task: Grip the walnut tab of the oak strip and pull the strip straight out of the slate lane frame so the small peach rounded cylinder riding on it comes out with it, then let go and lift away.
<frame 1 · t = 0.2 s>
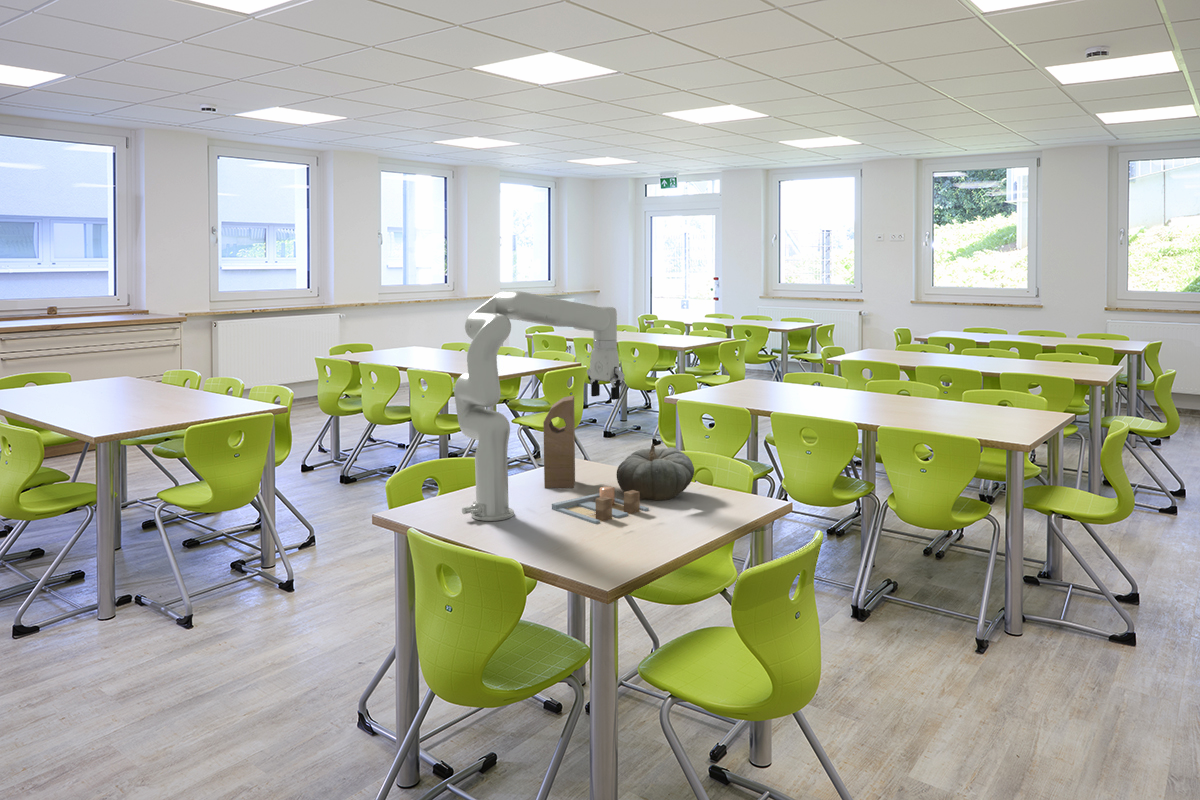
hand: (605, 397, 276), 31 cm above the table, fingers open, 9 cm apart
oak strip: (615, 499, 256), point 4 cm above the table, slide at 0.0 cm, touching peach rounded cylinder
peach rounded cylinder: (607, 504, 260), point 1 cm above the table, touching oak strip
gourd: (655, 497, 273), on the table
decorative block: (560, 485, 289), on the table
lane frame: (600, 513, 254), on the table
brown wooden block: (599, 509, 245), point 4 cm above the table, slide at 0.0 cm
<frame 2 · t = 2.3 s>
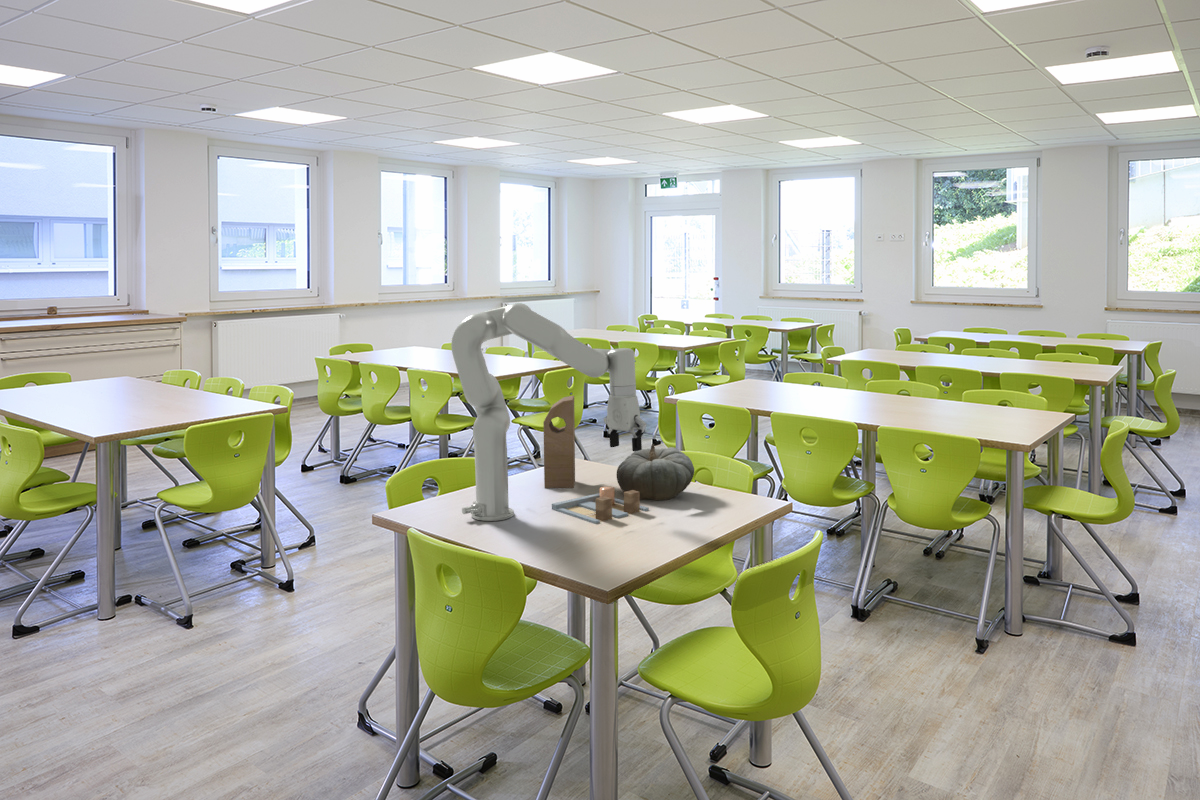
hand: (625, 448, 249), 20 cm above the table, fingers open, 9 cm apart
nothing on the table moved.
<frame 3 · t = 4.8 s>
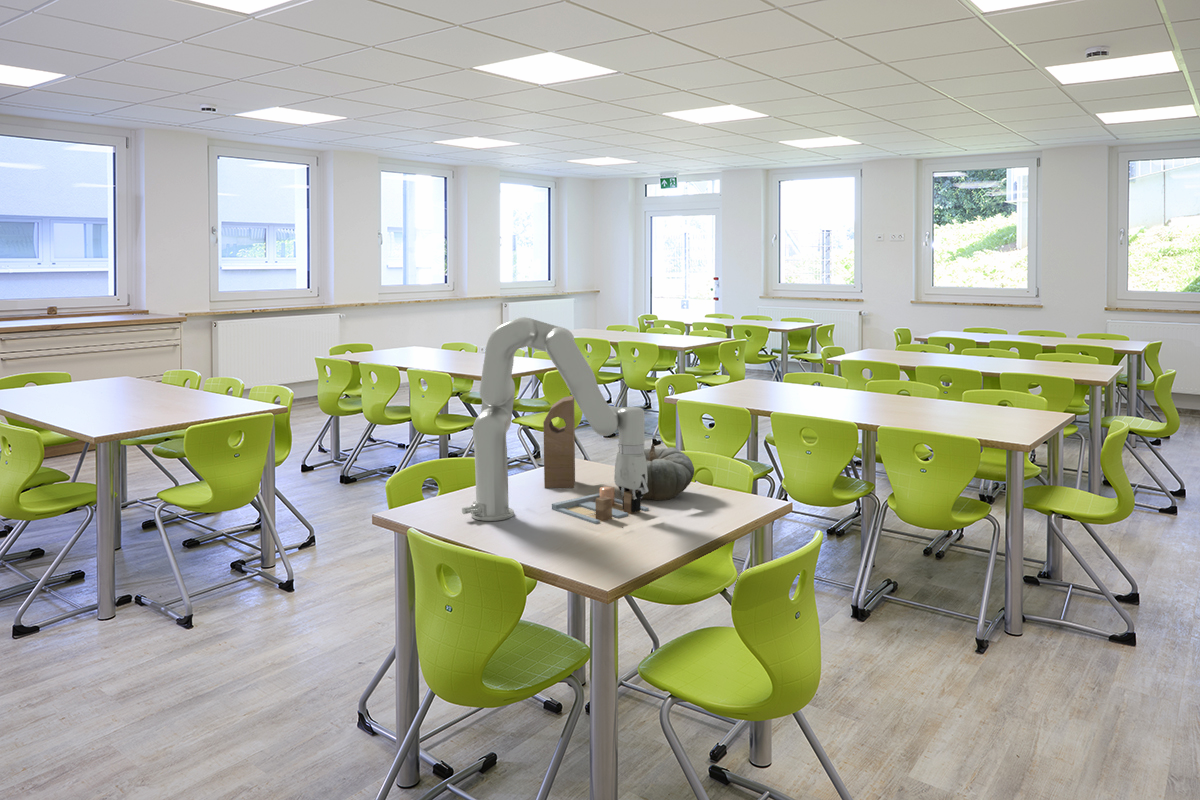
hand: (631, 509, 251), 2 cm above the table, fingers closed on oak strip, 3 cm apart
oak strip: (615, 499, 256), point 4 cm above the table, slide at 0.0 cm, touching gripper, peach rounded cylinder
everything else where it was.
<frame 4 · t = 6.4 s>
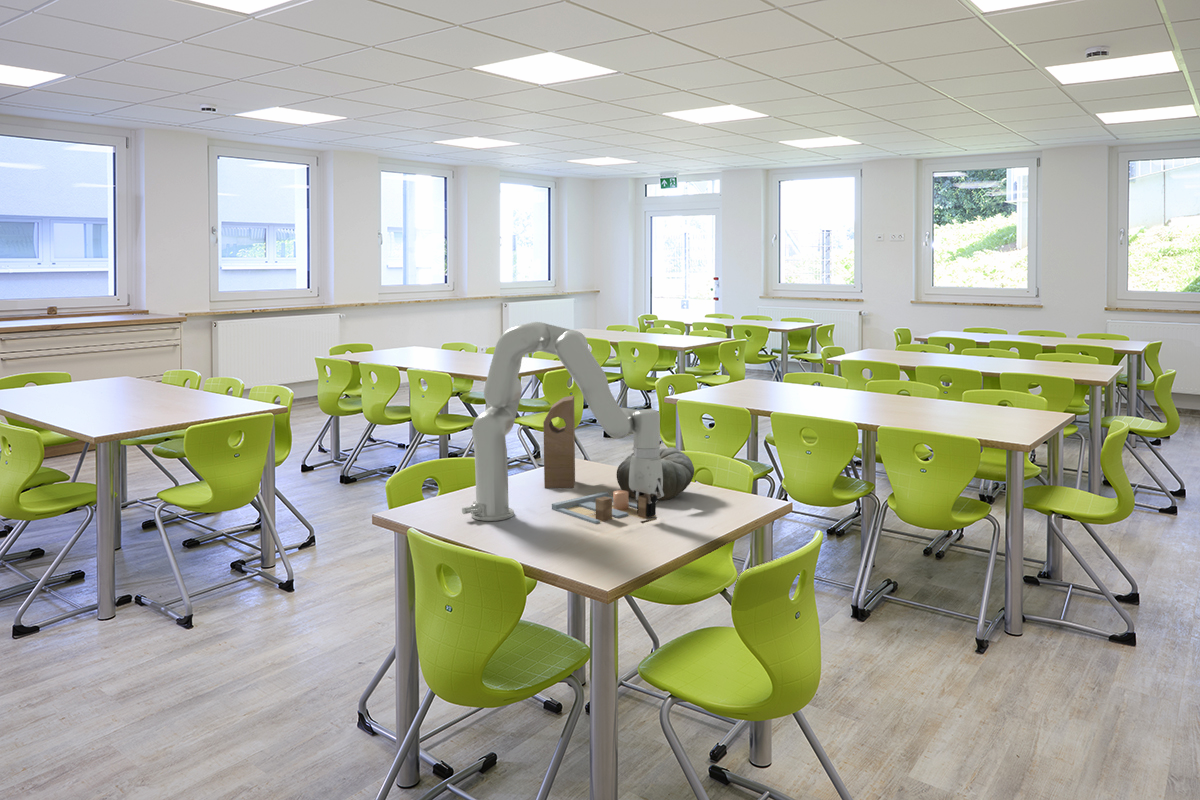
hand: (646, 514, 246), 2 cm above the table, fingers closed on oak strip, 3 cm apart
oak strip: (630, 503, 251), point 4 cm above the table, slide at 6.3 cm, touching gripper, peach rounded cylinder
peach rounded cylinder: (620, 508, 255), point 1 cm above the table, touching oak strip
everything else where it was.
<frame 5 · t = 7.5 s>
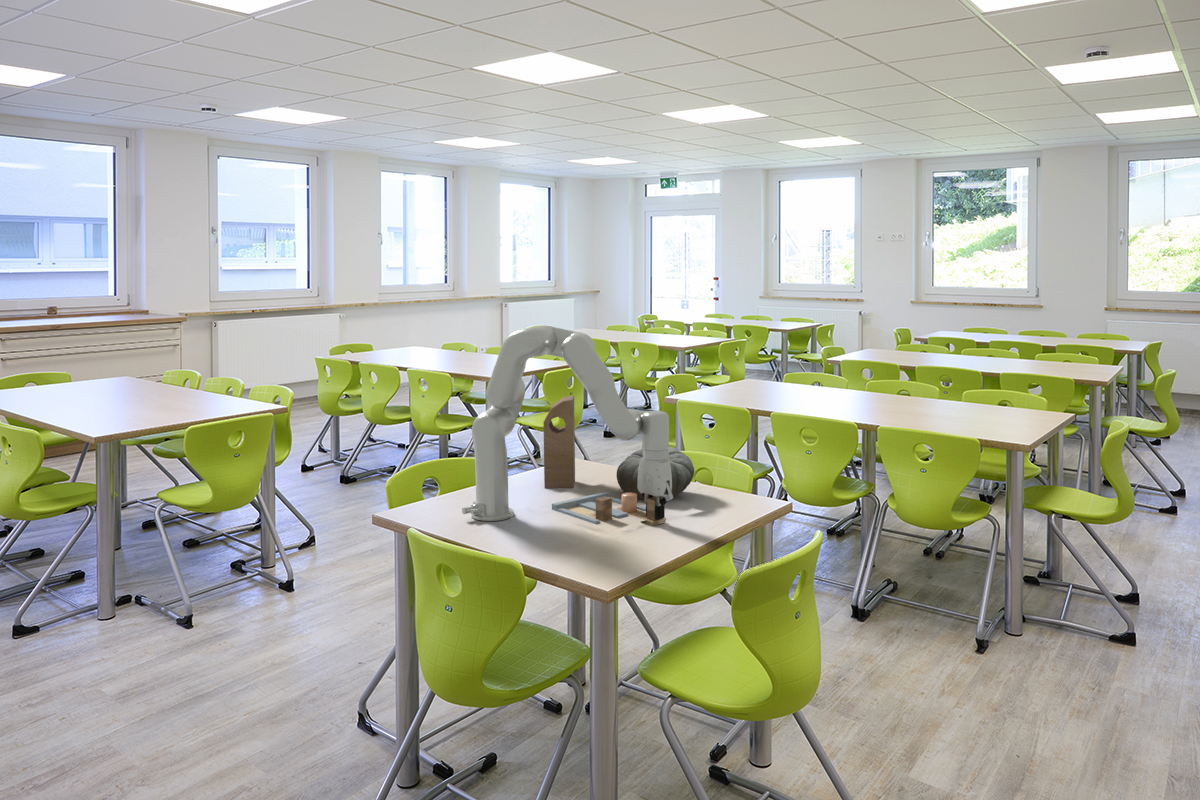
hand: (655, 516, 244), 2 cm above the table, fingers closed on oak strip, 3 cm apart
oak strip: (638, 505, 249), point 4 cm above the table, slide at 10.0 cm, touching gripper, peach rounded cylinder
peach rounded cylinder: (629, 511, 252), point 1 cm above the table, touching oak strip
everything else where it was.
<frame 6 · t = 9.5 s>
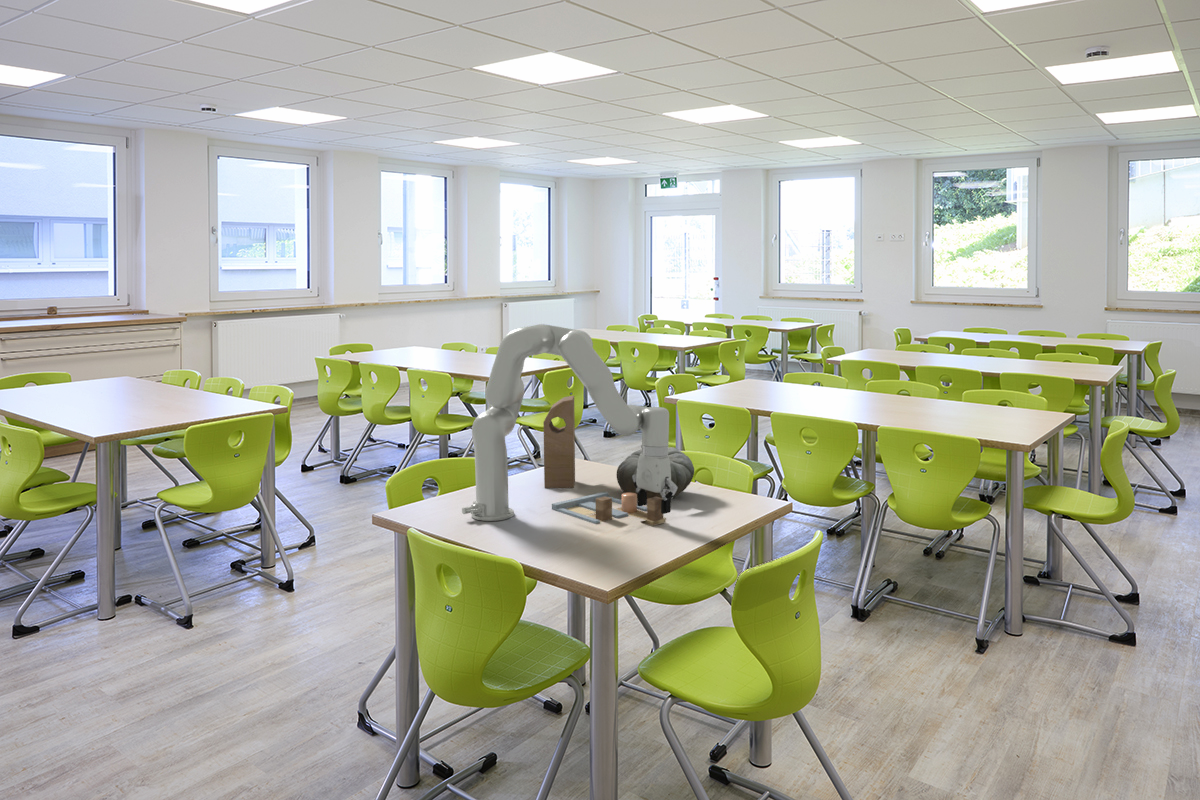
hand: (653, 509, 243), 4 cm above the table, fingers open, 9 cm apart
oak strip: (638, 505, 249), point 4 cm above the table, slide at 10.0 cm, touching peach rounded cylinder
everything else where it was.
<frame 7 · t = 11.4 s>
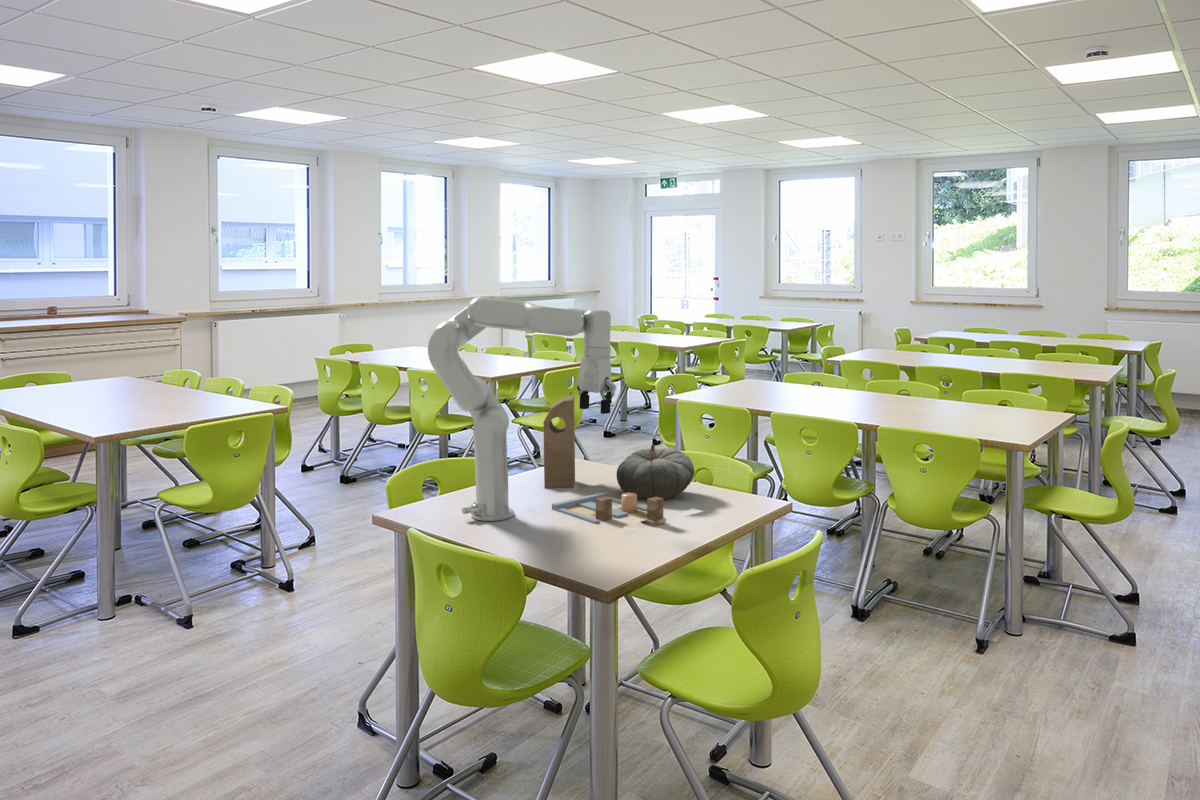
hand: (594, 410, 249), 31 cm above the table, fingers open, 9 cm apart
nothing on the table moved.
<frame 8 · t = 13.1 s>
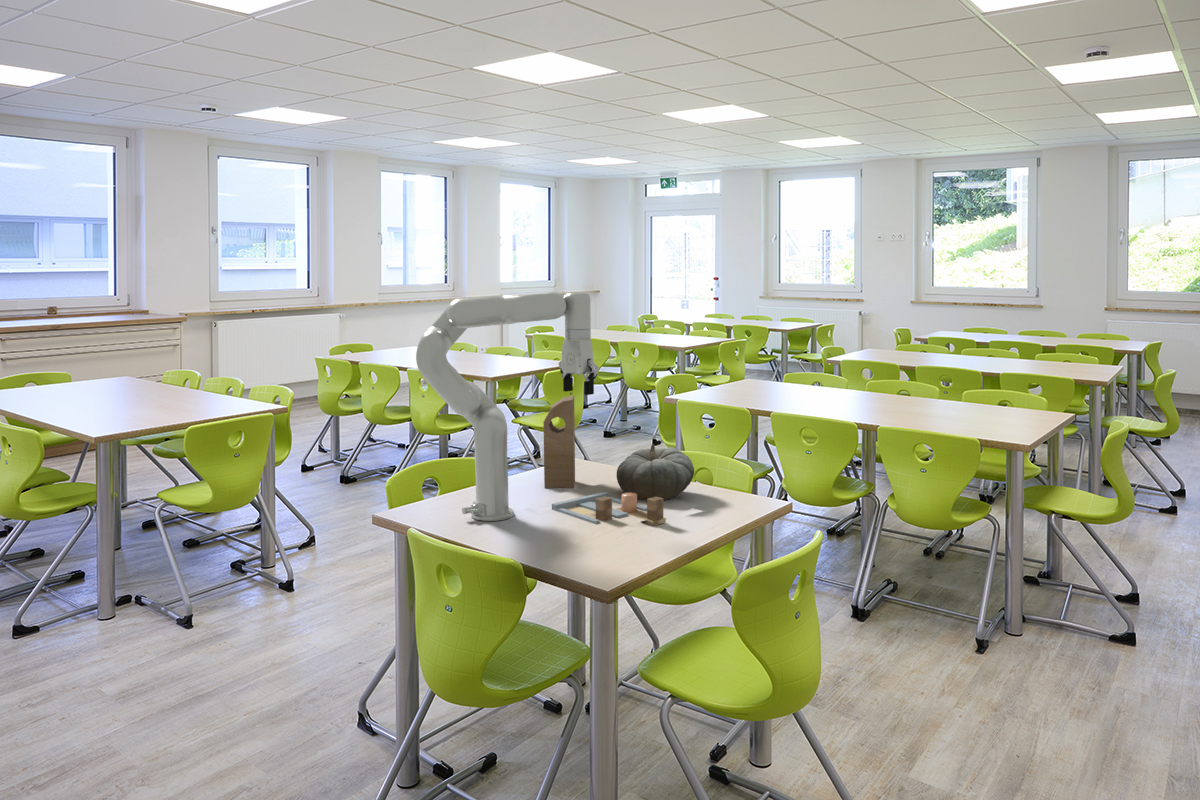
hand: (578, 392, 251), 36 cm above the table, fingers open, 9 cm apart
nothing on the table moved.
at the end: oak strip slide at 10.0 cm; peach rounded cylinder touching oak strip; peach rounded cylinder tilted 0° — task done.
